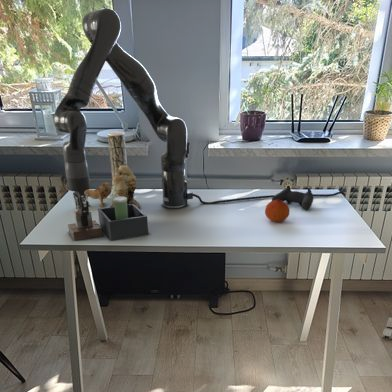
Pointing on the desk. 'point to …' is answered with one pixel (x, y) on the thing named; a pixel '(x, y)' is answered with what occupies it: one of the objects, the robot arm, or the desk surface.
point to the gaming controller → (295, 197)
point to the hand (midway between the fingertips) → (84, 224)
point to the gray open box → (123, 223)
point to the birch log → (117, 151)
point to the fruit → (277, 211)
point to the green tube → (121, 208)
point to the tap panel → (85, 231)
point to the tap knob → (78, 219)
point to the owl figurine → (124, 185)
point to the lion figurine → (100, 192)
